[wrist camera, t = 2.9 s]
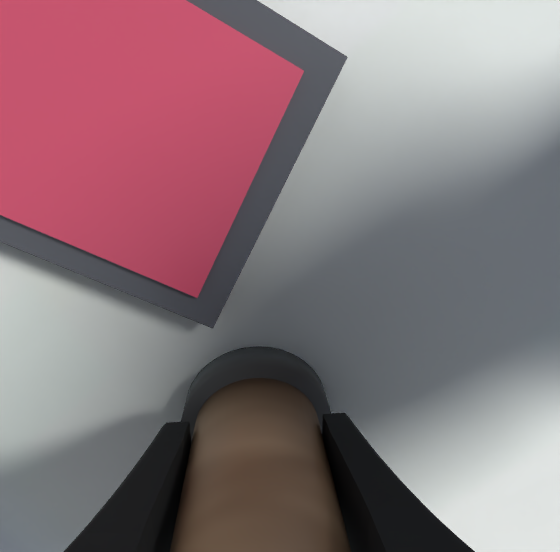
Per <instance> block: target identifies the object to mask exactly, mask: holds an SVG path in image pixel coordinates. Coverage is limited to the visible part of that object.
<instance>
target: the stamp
mask: <svg viewBox="0 0 560 552" xmlns="http://www.w3.org/2000/svg"><path fill="white" fill-rule="evenodd" d="M323 414H331V412H330V408H329V405H328V401H327V398H326V395H325V392H324V388H323V386H322V383H321V381H320V379H319V377H318V376H317V374H316V373H315V372H314V370H313V369H312V368H311V367H310V366H309V365H308V364H307V363H306V362H304V361H303V360H301V359H300V358H298V357H297V356H295V355H293V354H291V353H289V352H286V351H283V350H280V349H275V348H269V347H248V348H242V349H238V350H234V351H231V352H228V353H226V354H223V355H222V356H220V357H218V358H216V359H215V360H213V361H212V362H210V363H209V364H208V365H207V366H205V367H204V368H203V369H202V370H201V371H200V373H199V374H198V375H197V376H196V378H195V379H194V381H193V383H192V385H191V387H190V389H189V392H188V396H187V400H186V404H185V408H184V412H183V416H182V420H181V422H189V424H190V433H191V448H190V453H189V458H188V463H187V468H186V473H185V478H184V483H183V488H182V493H181V498H180V503H179V508H178V513H177V518H176V523H175V528H174V533H173V538H172V543H171V548H170V552H351V548H350V544H349V540H348V536H347V532H346V528H345V524H344V520H343V516H342V512H341V508H340V504H339V500H338V496H337V492H336V488H335V484H334V480H333V476H332V472H331V468H330V464H329V460H328V456H327V452H326V448H325V444H324V440H323V436H322V422H323Z"/></svg>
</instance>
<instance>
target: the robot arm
mask: <svg viewBox="0 0 560 552" xmlns="http://www.w3.org/2000/svg"><path fill="white" fill-rule="evenodd" d="M322 436H323V440H324V444H325V448H326V452H327V456H328V460H329V464H330V468H331V472H332V476H333V480H334V484H335V488H336V492H337V496H338V500H339V504H340V508H341V512H342V516H343V520H344V524H345V528H346V532H347V536H348V540H349V544H350V548H351V552H475V551H473V550H472V549H471V548H470V547H469V546H468V545H466V544H465V543H464V542H463V541H462V540H461V539H460V538H458V537H457V536H456V535H455V534H454V533H453V532H452V531H451V530H450V529H449V528H447V527H446V526H445V525H444V524H443V523H442V522H441V521H440V520H439V519H438V518H437V517H436V516H435V515H434V514H433V513H432V512H431V511H430V510H429V509H428V508H427V507H426V506H425V505H424V504H423V503H422V502H421V501H420V500H419V499H418V498H417V497H416V496H415V495H414V494H413V493H412V492H411V491H410V490H409V489H408V488H407V487H406V486H405V485H404V484H403V482H402V481H401V480H400V479H399V478H398V477H397V476H396V475H395V474H394V472H393V471H392V470H391V469H390V468H389V467H388V466H387V464H386V463H385V462H384V461H383V460H382V459H381V458H380V456H379V455H378V454H377V453H376V452H375V450H374V449H373V448H372V447H371V445H370V444H369V443H368V442H367V440H366V439H365V438H364V437H363V435H362V434H361V433H360V431H359V430H358V429H357V428H356V426H355V425H354V424H353V422H352V421H351V420H350V418H349V417H348V416H347V415H346V414H345V413H333V414H323V422H322ZM190 448H191V433H190V424H189V422H171V423H166V424H165V425H164V426H163V427H162V428H161V430H160V431H159V433H158V434H157V436H156V437H155V439H154V440H153V442H152V443H151V444H150V446H149V447H148V449H147V450H146V452H145V453H144V454H143V456H142V457H141V459H140V460H139V461H138V463H137V464H136V465H135V467H134V468H133V469H132V471H131V472H130V473H129V475H128V476H127V477H126V479H125V480H124V481H123V483H122V484H121V485H120V486H119V488H118V489H117V490H116V492H115V493H114V494H113V495H112V497H111V498H110V499H109V500H108V501H107V503H106V504H105V505H104V506H103V507H102V509H101V510H100V511H99V512H98V513H97V515H96V516H95V517H94V518H93V519H92V521H91V522H90V523H89V524H88V525H87V526H86V528H85V529H84V530H83V531H82V532H81V533H80V534H79V535H78V537H77V538H76V539H75V540H74V541H73V542H72V543H71V544H70V545H69V546H68V548H67V549H66V550H65V551H64V552H170V548H171V543H172V538H173V533H174V528H175V523H176V518H177V513H178V508H179V503H180V498H181V493H182V488H183V483H184V478H185V473H186V468H187V463H188V458H189V453H190Z"/></svg>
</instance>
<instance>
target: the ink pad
mask: <svg viewBox="0 0 560 552" xmlns="http://www.w3.org/2000/svg"><path fill="white" fill-rule="evenodd" d="M346 59H347V56H345V55H344V54H342V53H340V52H339V51H337V50H336V49H334V48H332V47H331V46H329V45H328V44H326V43H324V42H323V41H321V40H319V39H318V38H316V37H315V36H313V35H311V34H310V33H308V32H307V31H305V30H303V29H302V28H300V27H299V26H297V25H295V24H294V23H292V22H291V21H289V20H287V19H286V18H284V17H283V16H281V15H279V14H278V13H276V12H275V11H273V10H271V9H270V8H268V7H267V6H265V5H263V4H262V3H260V2H259V1H257V0H0V242H2V243H5V244H7V245H9V246H12V247H14V248H17V249H19V250H22V251H24V252H27V253H29V254H32V255H34V256H36V257H39V258H41V259H44V260H46V261H49V262H51V263H54V264H56V265H59V266H61V267H63V268H66V269H68V270H71V271H73V272H76V273H78V274H81V275H83V276H86V277H88V278H90V279H93V280H95V281H98V282H100V283H103V284H105V285H108V286H110V287H113V288H115V289H117V290H120V291H122V292H125V293H127V294H130V295H132V296H135V297H137V298H140V299H142V300H144V301H147V302H149V303H152V304H154V305H157V306H159V307H162V308H164V309H167V310H169V311H171V312H174V313H176V314H179V315H181V316H184V317H186V318H189V319H191V320H194V321H196V322H198V323H201V324H203V325H206V326H208V327H211V328H213V327H214V325H215V323H216V321H217V319H218V317H219V315H220V313H221V311H222V309H223V307H224V305H225V303H226V301H227V299H228V297H229V295H230V293H231V291H232V289H233V287H234V285H235V283H236V281H237V279H238V277H239V275H240V273H241V271H242V269H243V267H244V265H245V263H246V261H247V259H248V257H249V255H250V253H251V251H252V249H253V247H254V245H255V242H256V240H257V238H258V236H259V234H260V232H261V230H262V228H263V226H264V224H265V222H266V220H267V218H268V216H269V214H270V212H271V210H272V208H273V206H274V204H275V202H276V200H277V198H278V196H279V194H280V192H281V190H282V188H283V186H284V184H285V182H286V180H287V178H288V176H289V174H290V172H291V170H292V168H293V166H294V164H295V162H296V160H297V158H298V156H299V154H300V152H301V150H302V148H303V146H304V144H305V142H306V140H307V138H308V136H309V134H310V132H311V130H312V128H313V126H314V124H315V122H316V120H317V118H318V116H319V114H320V112H321V110H322V108H323V106H324V104H325V101H326V99H327V97H328V95H329V93H330V91H331V89H332V87H333V85H334V83H335V81H336V79H337V77H338V75H339V73H340V71H341V69H342V67H343V65H344V63H345V61H346Z"/></svg>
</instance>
